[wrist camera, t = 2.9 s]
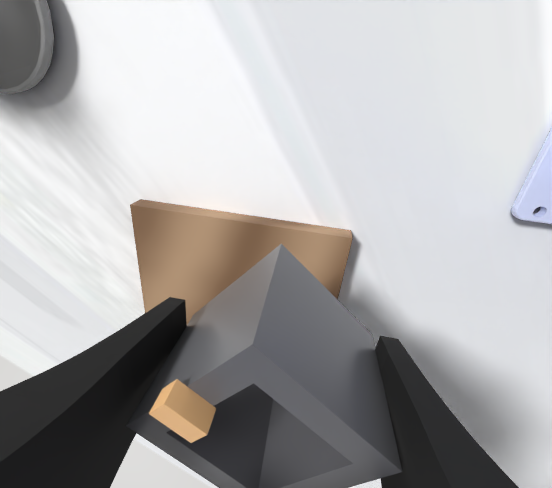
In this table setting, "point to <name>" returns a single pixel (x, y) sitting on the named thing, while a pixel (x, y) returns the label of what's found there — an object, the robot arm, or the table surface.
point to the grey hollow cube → (273, 388)
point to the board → (223, 251)
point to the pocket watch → (24, 44)
